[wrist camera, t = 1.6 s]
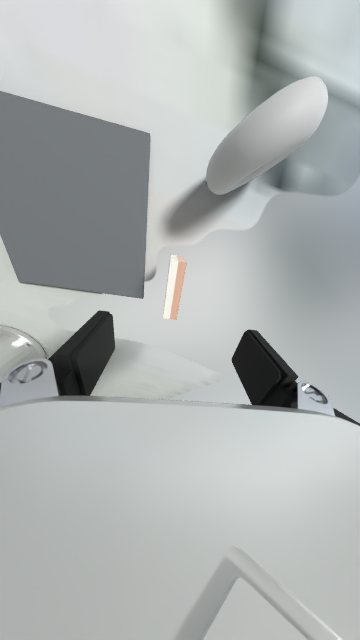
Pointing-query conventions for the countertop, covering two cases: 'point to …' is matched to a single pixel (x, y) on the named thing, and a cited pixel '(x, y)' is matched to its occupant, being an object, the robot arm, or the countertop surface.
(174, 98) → the countertop surface
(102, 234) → the mat
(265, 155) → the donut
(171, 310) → the tile
